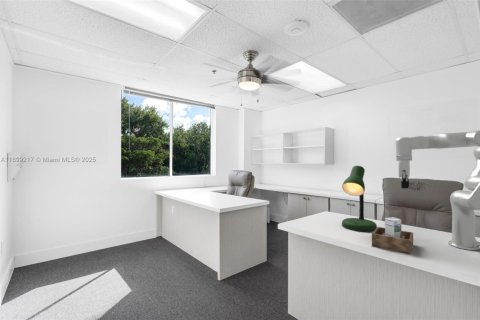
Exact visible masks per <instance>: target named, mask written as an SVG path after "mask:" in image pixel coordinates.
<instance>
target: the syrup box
mask: <svg viewBox="0 0 480 320" xmlns="http://www.w3.org/2000/svg"><path fill="white" fill-rule="evenodd" d="M384 228H385V236H390V237H396V238H402V233H401V231H402V219H401V218H398V217H393V216H392V217H385V218H384Z"/></svg>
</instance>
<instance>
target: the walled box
mask: <svg viewBox="0 0 480 320" xmlns="http://www.w3.org/2000/svg"><path fill="white" fill-rule="evenodd" d="M401 233H402V238H396V237H390V236H385V227H381V226H377V228H376V229H375V230H374V231H373V232H371V247H374V248H379V249H384V250H389V251H394V252H399V253H403V254H404V253H405V254H407V255H408V254H409V255H412V251H413V248H414V232H412V231H406V230H401Z"/></svg>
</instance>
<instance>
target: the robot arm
mask: <svg viewBox="0 0 480 320" xmlns="http://www.w3.org/2000/svg"><path fill="white" fill-rule="evenodd" d="M470 147H471V148H472V147H475V148H473V157H474V158H475V161H476V166H475V167H474V169H473V170H472V171H471V173H470V174H469V175H468V176H467V178H466V179H465V181H464V187H465V188H466V189H467V190H462V189H459V190H455V191H453V192H452V193H451V194H450V197H449V201H450V206H451V218H452V219H451V229H452V230H451V237H452V239H451V240H449V241H448V245H450V246H451V247H454V248H457V249H462V250H468V251H479V250H480V241H477V239H476V213H475V211H478V212H479V211H480V129H478V130H477V129H476V130H471V131H463V132H447V133H446V132H445V133H439V134H435V135H430V136H429V135H427V136H424V135H418V136H411V137H409V136H404V137H403V136H402V137H397V138H396V139H395V152H396V153H395V154H396V156H395V157H396V158H395V159H396V162H398V178H400V179H401V182H400V183H401V184H400V185H401V186H400V187H401V189H409V187H410V180H409V178H410V174H411V164H410V163H411V162H412V161H413V156H412V155H413V152H412V151H413V150H425V149H427V150H428V149H431V150H432V149H439V150H440V149H456V148H470ZM410 161H411V162H410Z"/></svg>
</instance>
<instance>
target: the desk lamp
mask: <svg viewBox="0 0 480 320" xmlns="http://www.w3.org/2000/svg"><path fill="white" fill-rule="evenodd" d="M365 171H366V170H365V168H364V167H363V166H362V165H354V166H353V167H352V169H351V171H350V174H349V176H348V177H347V178H346V179H345V180H344V181H343V183H342V185H341V189H342V190H343V192H344V193H346V194H347V195H350V196H356V197H357V196H358V197H359V207H358V209H359V211H358V212H359V213H358V215H359V216H358V217H347V218H344V219H342V221H341V227H343V229H346V230H350V231H356V232H361V233H364V232H365V233H373V232H374V230H375V229H376V228H377V227H378V225H377V223H376V222H374V221H373V220H370V219H366V218H365V213H364V212H365V211H364V210H365V208H364V207H365V203H364V202H365V199H364V198H365V195H364V194H365V191H366V186H365V185H366V184H365V181H364V175H365Z"/></svg>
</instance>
